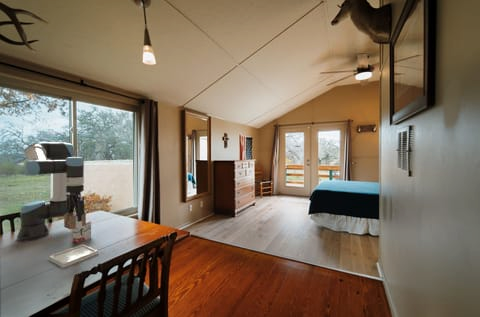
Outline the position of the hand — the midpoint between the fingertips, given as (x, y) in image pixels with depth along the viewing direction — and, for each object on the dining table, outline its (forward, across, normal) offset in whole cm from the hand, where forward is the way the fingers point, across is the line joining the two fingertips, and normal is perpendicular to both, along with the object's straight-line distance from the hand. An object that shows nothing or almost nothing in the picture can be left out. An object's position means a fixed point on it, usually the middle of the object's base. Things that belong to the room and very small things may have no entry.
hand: (75, 225), depth 110 cm
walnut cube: (0, 0, 0) cm, 0 cm away
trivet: (+17, 0, 0) cm, 17 cm away
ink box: (+17, -20, +13) cm, 30 cm away
